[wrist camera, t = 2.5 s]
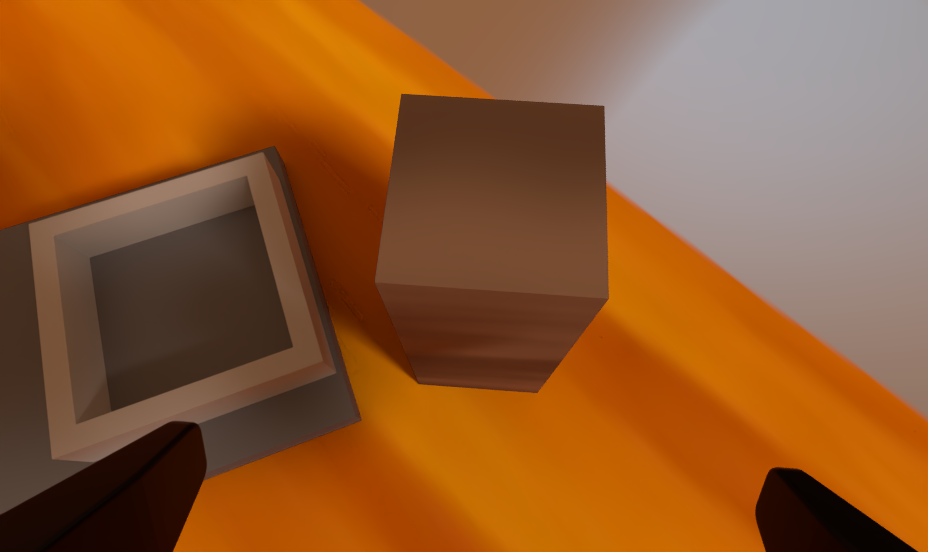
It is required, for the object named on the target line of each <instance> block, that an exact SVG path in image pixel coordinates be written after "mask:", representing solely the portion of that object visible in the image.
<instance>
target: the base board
mask: <svg viewBox="0 0 928 552" xmlns="http://www.w3.org/2000/svg"><path fill="white" fill-rule="evenodd" d="M171 421H186V422H195V423H197V424H198V425H199V426H200V428H201V431H202V437H203V442H204V448H205V453H206V459H207V470H206V474H205V477H204V480H205V479H208V478H211V477H213V476H216V475H219V474H221V473H224V472H226V471H229V470H232V469H234V468H237V467H240V466H242V465H245V464H247V463H250V462H253V461H255V460H258V459H261V458H263V457H266V456H269V455H271V454H274V453H276V452H279V451H282V450H284V449H287V448H290V447H292V446H295V445H298V444H300V443H303V442H305V441H308V440H311V439H313V438H316V437H319V436H321V435H324V434H326V433H329V432H332V431H334V430H337V429H340V428H342V427H345V426H348V425H350V424H353V423H355V422H358V421H361V417H360V414H359V410H358V407H357V404H356V400H355V397H354V394H353V390H352V387H351V384H350V380H349V377H348V374H347V371H346V367H345V364H344V361H343V357H342V354H341V351H340V347H339V344H338V341H337V337H336V334H335V331H334V328H333V324H332V321H331V318H330V314H329V311H328V308H327V304H326V301H325V298H324V294H323V291H322V288H321V285H320V281H319V278H318V275H317V271H316V268H315V265H314V261H313V258H312V255H311V251H310V248H309V245H308V242H307V238H306V235H305V232H304V228H303V225H302V222H301V218H300V215H299V212H298V209H297V205H296V202H295V199H294V195H293V192H292V189H291V185H290V182H289V179H288V175H287V172H286V169H285V166H284V162H283V160H282V158H281V157H280V155H279V153H278V151H277V149H276V148H275V146H273V147H269V148H266V149H263V150H260V151H256V152H253V153H250V154H247V155H243V156H240V157H237V158H233V159H230V160H227V161H224V162H220V163H217V164H214V165H211V166H207V167H204V168H201V169H198V170H194V171H191V172H188V173H185V174H181V175H178V176H175V177H172V178H168V179H165V180H162V181H159V182H155V183H152V184H149V185H146V186H142V187H139V188H136V189H133V190H129V191H126V192H123V193H119V194H116V195H113V196H110V197H106V198H103V199H100V200H97V201H93V202H90V203H87V204H84V205H80V206H77V207H74V208H71V209H67V210H64V211H61V212H58V213H54V214H51V215H48V216H45V217H41V218H38V219H35V220H32V221H28V222H25V223H22V224H18V225H15V226H12V227H9V228H5V229H2V230H0V515H1V514H2V513H4V512H6V511H8V510H10V509H12V508H13V507H15V506H17V505H19V504H21V503H22V502H24V501H26V500H28V499H30V498H32V497H33V496H35V495H37V494H39V493H41V492H42V491H44V490H46V489H48V488H50V487H52V486H53V485H55V484H57V483H59V482H61V481H62V480H64V479H66V478H68V477H70V476H72V475H73V474H75V473H77V472H79V471H81V470H82V469H84V468H86V467H88V466H90V465H92V464H93V463H95V462H97V461H99V460H101V459H102V458H104V457H106V456H108V455H110V454H112V453H113V452H115V451H117V450H119V449H121V448H122V447H124V446H126V445H128V444H130V443H131V442H133V441H135V440H137V439H139V438H141V437H142V436H144V435H146V434H148V433H150V432H151V431H153V430H155V429H157V428H159V427H161V426H162V425H164V424H166V423H168V422H171Z"/></svg>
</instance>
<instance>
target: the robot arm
mask: <svg viewBox="0 0 928 552" xmlns="http://www.w3.org/2000/svg"><path fill="white" fill-rule="evenodd" d="M206 470H207V459H206V453H205V448H204V442H203V437H202V431H201V428H200V426H199V425H198V424H197V423H195V422H186V421H171V422H168V423H166V424H164V425H162V426H161V427H159V428H157V429H155V430H153V431H151V432H150V433H148V434H146V435H144V436H142V437H141V438H139V439H137V440H135V441H133V442H131V443H130V444H128V445H126V446H124V447H122V448H121V449H119V450H117V451H115V452H113V453H112V454H110V455H108V456H106V457H104V458H102V459H101V460H99V461H97V462H95V463H93V464H92V465H90V466H88V467H86V468H84V469H82V470H81V471H79V472H77V473H75V474H73V475H72V476H70V477H68V478H66V479H64V480H62V481H61V482H59V483H57V484H55V485H53V486H52V487H50V488H48V489H46V490H44V491H42V492H41V493H39V494H37V495H35V496H33V497H32V498H30V499H28V500H26V501H24V502H22V503H21V504H19V505H17V506H15V507H13V508H12V509H10V510H8V511H6V512H4V513H2V514H1V515H0V552H173V550H174V548H175V546H176V543H177V541H178V539H179V536H180V534H181V532H182V529H183V527H184V525H185V522H186V520H187V517H188V515H189V513H190V510H191V508H192V506H193V503H194V501H195V499H196V496H197V494H198V492H199V489H200V487H201V485H202V482H203V480H204V477H205V474H206ZM755 516H756V521H757V525H758V528H759V531H760V535H761V538H762V541H763V544H764V547H765V551H766V552H918V551H916V550H915V549H913V548H912V547H911V546H909V545H908V544H906V543H905V542H904V541H902V540H901V539H899V538H898V537H896V536H895V535H894V534H892V533H891V532H889V531H888V530H886V529H885V528H884V527H882V526H881V525H879V524H878V523H877V522H875V521H874V520H872V519H871V518H869V517H868V516H867V515H865V514H864V513H862V512H861V511H859V510H858V509H857V508H855V507H854V506H852V505H851V504H850V503H848V502H847V501H845V500H844V499H842V498H841V497H840V496H838V495H837V494H835V493H834V492H832V491H831V490H830V489H828V488H827V487H825V486H824V485H823V484H821V483H820V482H818V481H817V480H815V479H814V478H813V477H811V476H810V475H808V474H807V473H805V472H804V471H802V470H800V469H794V468H781V467H775V468H772V469H771V470H770V471H769V472H768V474H767V476H766V479H765V482H764V485H763V487H762V490H761V493H760V496H759V498H758V501H757V504H756V510H755Z"/></svg>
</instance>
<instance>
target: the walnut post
mask: <svg viewBox="0 0 928 552" xmlns="http://www.w3.org/2000/svg"><path fill="white" fill-rule="evenodd" d="M604 119H605V117H604V106H596V105H595V106H594V105H579V104H562V103H544V102H529V101H512V100H495V99H478V98H462V97H445V96H428V95H411V94H401V100H400V107H399V114H398V121H397V128H396V135H395V142H394V149H393V156H392V163H391V170H390V177H389V184H388V191H387V198H386V205H385V212H384V219H383V226H382V233H381V240H380V247H379V254H378V261H377V268H376V275H375V285H376V287H377V289H378V292H379V294H380V296H381V298H382V301H383V303H384V305H385V308H386V310H387V312H388V314H389V317H390V319H391V321H392V324H393V326H394V328H395V330H396V333H397V335H398V337H399V340H400V342H401V344H402V346H403V349H404V351H405V353H406V356H407V358H408V360H409V362H410V365H411V367H412V369H413V372H414V374H415V376H416V378H417V381H418V383H419V384H424V385H438V386H451V387H465V388H478V389H491V390H505V391H518V392H532V393H538V391H539V390H540V389H541V387H542V386H543V385H544V383H545V382H546V381H547V379H548V378H549V377H550V375H551V374H552V373H553V372H554V370H555V369H556V368H557V366H558V365H559V364H560V362H561V361H562V360H563V358H564V357H565V356H566V354H567V353H568V352H569V350H570V349H571V348H572V346H573V345H574V344H575V342H576V341H577V340H578V339H579V337H580V336H581V335H582V333H583V332H584V331H585V329H586V328H587V327H588V325H589V324H590V323H591V321H592V320H593V319H594V317H595V316H596V315H597V313H598V312H599V311H600V310H601V308H602V307H603V306H604V304H605V303H606V302H607V300H608V299H609V290H608V246H607V203H606V161H605V120H604Z"/></svg>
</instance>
